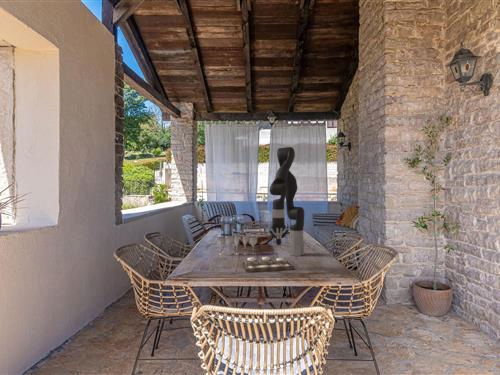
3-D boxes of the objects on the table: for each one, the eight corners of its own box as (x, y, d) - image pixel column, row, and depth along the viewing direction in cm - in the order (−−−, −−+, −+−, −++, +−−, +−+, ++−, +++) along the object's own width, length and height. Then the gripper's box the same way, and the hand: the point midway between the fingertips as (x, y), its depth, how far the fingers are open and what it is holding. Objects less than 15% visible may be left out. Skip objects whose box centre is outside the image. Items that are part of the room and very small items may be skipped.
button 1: (254, 260, 230) (254, 257, 230) (256, 262, 225) (256, 259, 225) (246, 260, 229) (246, 257, 229) (248, 262, 224) (248, 259, 224)
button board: (285, 263, 238) (285, 256, 237) (293, 269, 222) (293, 262, 222) (241, 265, 232) (241, 259, 232) (246, 272, 217) (246, 265, 216)
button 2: (283, 260, 234) (283, 257, 233) (285, 262, 229) (285, 259, 228) (275, 261, 233) (275, 258, 232) (277, 263, 228) (277, 260, 228)
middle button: (269, 259, 232) (269, 256, 232) (271, 261, 227) (271, 258, 227) (261, 260, 231) (261, 256, 231) (263, 261, 226) (262, 258, 226)
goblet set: (216, 255, 260) (216, 236, 259) (217, 253, 265) (217, 235, 265) (257, 255, 261) (257, 236, 260) (256, 253, 266) (256, 234, 266)
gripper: (287, 215, 234) (287, 243, 235) (266, 216, 231) (266, 244, 232) (290, 217, 226) (290, 245, 227) (269, 217, 224) (269, 246, 225)
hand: (278, 244), depth 230 cm, fingers closed
